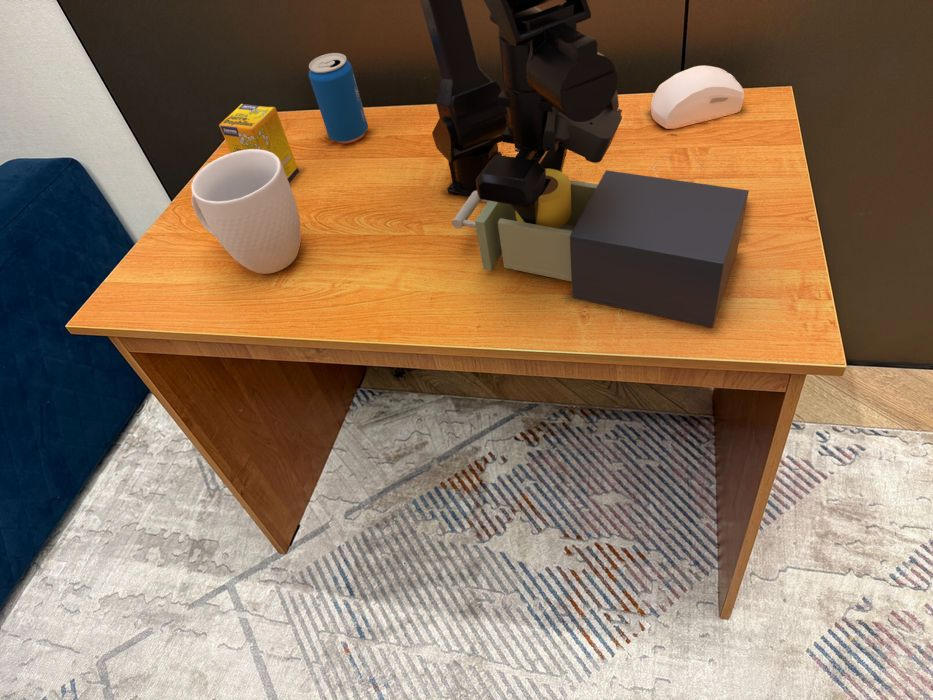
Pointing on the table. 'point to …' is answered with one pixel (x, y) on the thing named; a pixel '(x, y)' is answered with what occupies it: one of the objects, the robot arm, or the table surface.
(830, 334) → the table surface
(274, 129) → the supplement box
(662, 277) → the cabinet
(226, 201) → the mug
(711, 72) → the computer mouse
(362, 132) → the beverage can
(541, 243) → the drawer
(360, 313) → the table surface
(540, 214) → the tape
